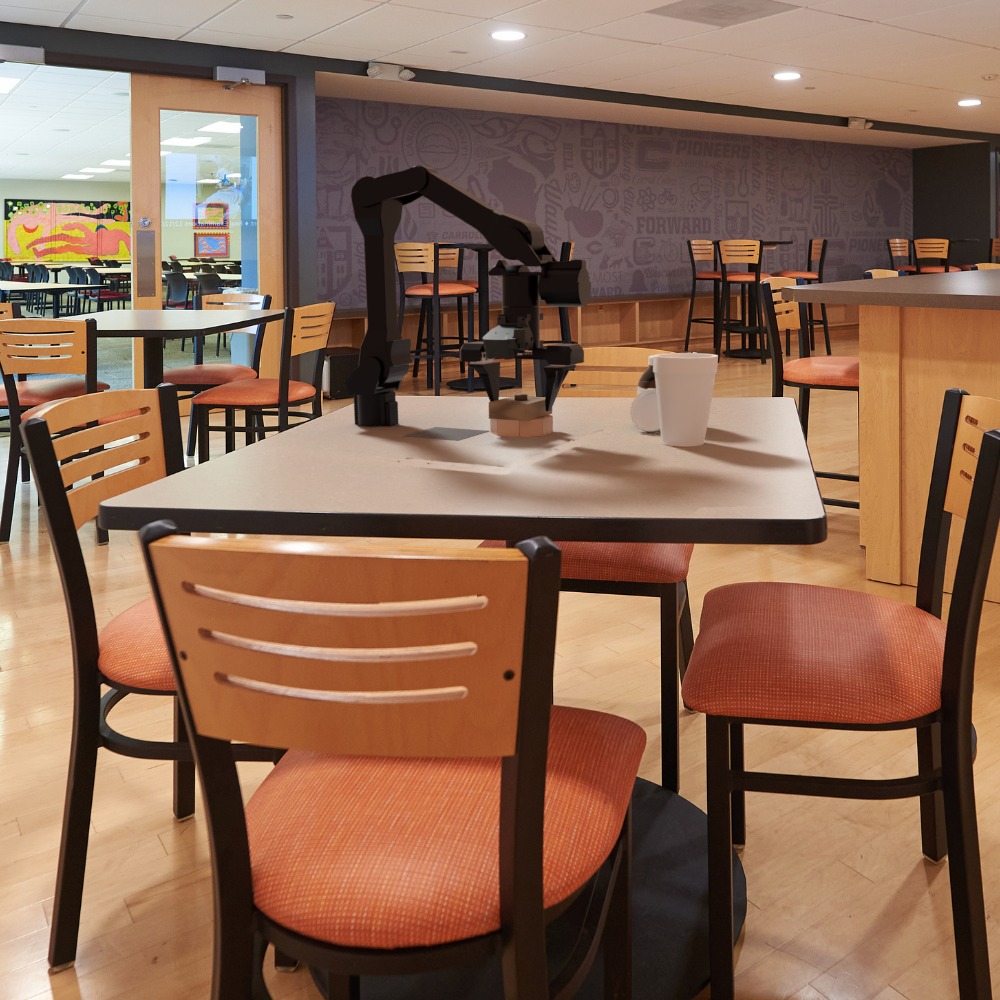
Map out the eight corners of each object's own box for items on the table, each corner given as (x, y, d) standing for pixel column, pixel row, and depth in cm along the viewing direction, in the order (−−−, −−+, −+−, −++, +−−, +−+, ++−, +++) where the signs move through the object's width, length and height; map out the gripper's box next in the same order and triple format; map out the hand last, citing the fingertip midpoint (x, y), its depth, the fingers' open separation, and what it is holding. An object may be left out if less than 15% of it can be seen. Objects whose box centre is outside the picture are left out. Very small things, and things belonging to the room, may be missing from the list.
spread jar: (692, 423, 167) (694, 354, 165) (708, 433, 156) (711, 359, 154) (622, 424, 167) (623, 355, 164) (633, 434, 156) (634, 360, 153)
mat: (401, 442, 150) (401, 435, 150) (435, 433, 159) (435, 426, 159) (458, 446, 146) (458, 440, 146) (490, 437, 155) (490, 430, 154)
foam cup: (714, 449, 142) (718, 358, 139) (650, 447, 144) (652, 358, 141) (714, 438, 151) (717, 353, 148) (653, 437, 153) (655, 352, 150)
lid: (488, 418, 150) (488, 396, 149) (515, 411, 158) (515, 390, 157) (527, 421, 147) (527, 398, 146) (552, 413, 155) (552, 392, 154)
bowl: (482, 440, 151) (482, 418, 151) (509, 432, 159) (508, 410, 158) (535, 444, 147) (535, 421, 146) (559, 435, 155) (559, 413, 154)
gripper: (440, 308, 146) (442, 412, 149) (555, 308, 138) (554, 419, 141) (476, 305, 156) (477, 404, 159) (585, 306, 147) (584, 410, 151)
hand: (521, 409), depth 152 cm, fingers open, 9 cm apart
